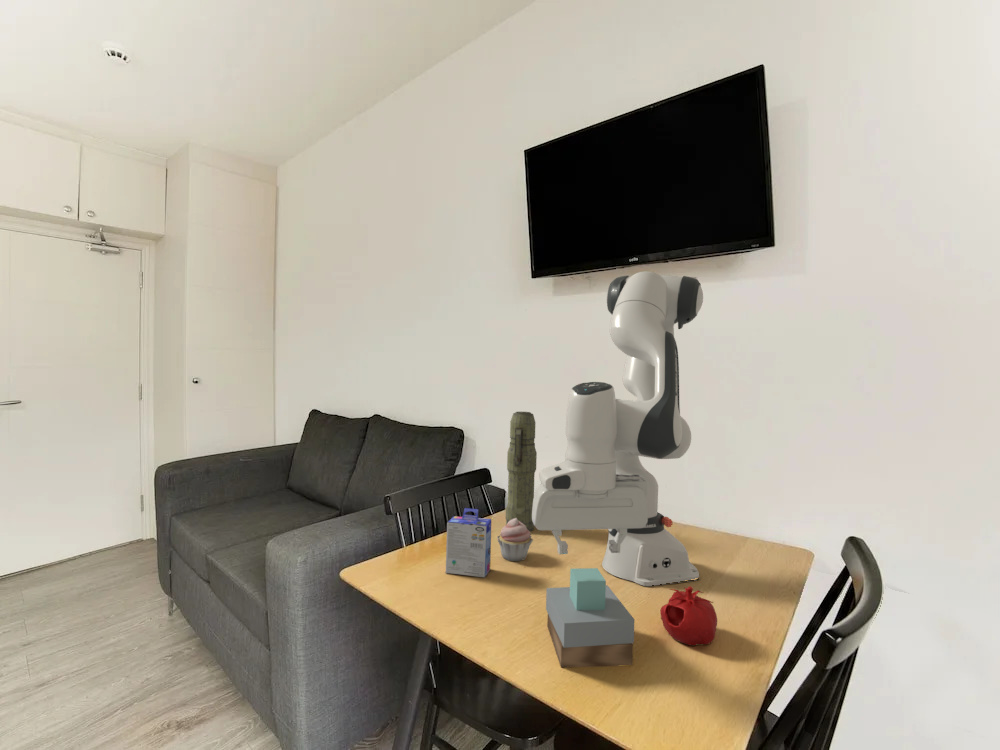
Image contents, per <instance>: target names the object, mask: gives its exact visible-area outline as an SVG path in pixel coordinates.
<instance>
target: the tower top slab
mask: <svg viewBox="0 0 1000 750" xmlns="http://www.w3.org/2000/svg"><path fill="white" fill-rule="evenodd" d="M545 598H546V600H545V611H546V612H547V616H548V615H549V617H550V619H551V621H552V623H553V625H554V628H555V630H556V632H557V634H558V636H559V638H560V641H561V643H562V645H563V647H564V648H567V647H582V646H598V645H614V644H629V643H632V644H634V643H635V621H636V620H635V618H634V617H633V615H632V614H631V613H630V611H628V609H627V608H626V607H625V605H624V604H623V603H622V601H620V599H619V597H618V596H617V595H616V594H615V593H614V591H613V590H612V589H611V588H610V586H608V584H606V593H605V610H576V608H575V606H574V604H573V602H572V600H571V598H570V586H566V587H565V586H561V587H546V596H545Z"/></svg>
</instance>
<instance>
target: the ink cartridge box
mask: <svg viewBox="0 0 1000 750" xmlns="http://www.w3.org/2000/svg"><path fill="white" fill-rule="evenodd" d="M471 512H472V513H474V515H473V514H467V513H471ZM491 549H492V519H491V518H483V517H482V518H481V517H479V509H477V508H470V507H469V508H468V507H464V509H463V513H462V516H457V515H455V516H454V515H453V516H452V517H451V519H449V520H448V521H447V523H446V549H445V550H446V552H445V553H446V554H445V574H452V575H460V576H469V577H470V576H471V577H478V578H486V577H487V575H488V574H489V572H490V570H491Z"/></svg>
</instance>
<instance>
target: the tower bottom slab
mask: <svg viewBox="0 0 1000 750" xmlns="http://www.w3.org/2000/svg"><path fill="white" fill-rule="evenodd" d="M546 624H547V630H548V632H549V635H550V639H551V642H552V644H553V647H554V651H555V654H556V656H557V657H556V658H557V660H558V662H559V666H560V668H587V667H588V668H590V667H591V668H592V667H593V668H594V667H596V668H597V667H620V666H619V665H631V666H633V657H634V656H633V654H634V653H633V652H634V643H629V644H614V645H598V646H582V647H567V648H564V647H563V645H562V643H561V641H560V638H559V636H558V634H557V632H556V630H555V628H554V625H553V623H552V621H551V619H550V617H549V615H548V614H547V623H546Z"/></svg>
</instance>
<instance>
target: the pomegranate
mask: <svg viewBox="0 0 1000 750" xmlns="http://www.w3.org/2000/svg"><path fill="white" fill-rule="evenodd" d="M684 589H685V590H684V591H683V590H681V591H680V590H678V589H675V588H674V589H671V588H669V590H670V591H674V592H673V594H672V595H671V597H670V598H669V599H668V602H667V603H666V604H664V605H662V606H661V607H660V618H661V621H662V624H663V628H664V630H666V632H667V633H668V635H670V636H671V637H672V638H673V639H674V640H676V641H678V642H680V643H682V644H684V643H685V644H684V645H687V644H688V645H687V646H691V645H696V644H705V645H704V646H706V644H707V645H709V644H712V642H713V641H714V639H715V637H716V631H717V627H718V616H717V615H718V614H717V613H716V609H715V608H714V606H713V603H714V601H711V600H708V599H706V598H704V597H701V596H698V593H701V594H703V593H704V591H701V590H698V589H697V590H696V591H694V587H692V586H691V585H690V586H687V587H684ZM693 591H694V592H693ZM696 646H697V645H696Z"/></svg>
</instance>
